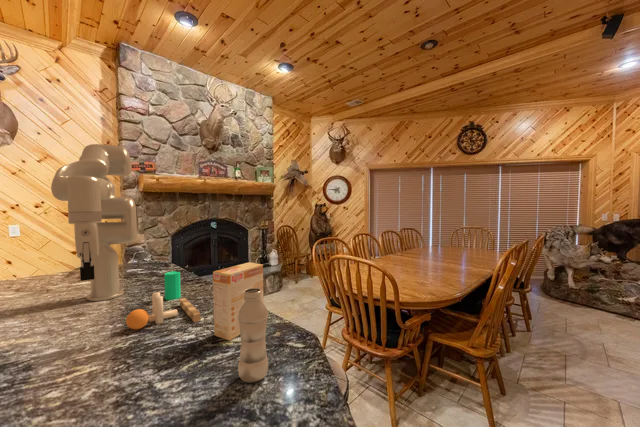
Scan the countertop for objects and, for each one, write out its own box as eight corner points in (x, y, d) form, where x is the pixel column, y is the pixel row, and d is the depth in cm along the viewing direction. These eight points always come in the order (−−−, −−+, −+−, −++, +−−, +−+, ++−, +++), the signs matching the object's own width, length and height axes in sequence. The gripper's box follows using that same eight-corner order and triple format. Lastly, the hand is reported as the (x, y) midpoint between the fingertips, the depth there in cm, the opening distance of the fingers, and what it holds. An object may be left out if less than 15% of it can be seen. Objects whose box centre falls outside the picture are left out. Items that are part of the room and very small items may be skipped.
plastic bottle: (241, 370, 66) (239, 286, 66) (270, 368, 67) (269, 285, 66) (235, 388, 60) (233, 295, 59) (267, 386, 61) (266, 294, 60)
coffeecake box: (249, 317, 97) (248, 261, 96) (264, 322, 93) (264, 264, 93) (212, 335, 84) (211, 270, 83) (229, 341, 81) (228, 274, 80)
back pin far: (152, 317, 98) (151, 293, 97) (160, 315, 99) (159, 291, 99) (153, 319, 96) (152, 295, 95) (161, 317, 97) (160, 293, 97)
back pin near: (154, 322, 94) (154, 296, 93) (162, 320, 95) (162, 295, 95) (155, 324, 92) (155, 298, 91) (164, 322, 93) (163, 297, 93)
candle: (174, 300, 115) (173, 271, 114) (161, 299, 116) (160, 270, 115) (183, 295, 121) (183, 267, 120) (171, 294, 122) (171, 267, 121)
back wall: (179, 305, 109) (179, 299, 109) (185, 304, 110) (185, 297, 110) (194, 322, 93) (194, 314, 93) (200, 320, 95) (200, 313, 95)
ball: (148, 316, 94) (126, 319, 91) (149, 304, 91) (127, 306, 88) (148, 331, 90) (125, 335, 86) (149, 318, 87) (126, 321, 84)
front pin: (148, 314, 95) (176, 308, 100) (148, 321, 95) (176, 314, 100) (149, 316, 93) (177, 310, 98) (149, 323, 93) (177, 317, 98)
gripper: (102, 218, 79) (104, 282, 80) (100, 216, 91) (102, 272, 92) (66, 219, 75) (69, 287, 75) (70, 217, 86) (72, 276, 87)
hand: (87, 279), depth 83 cm, fingers closed
